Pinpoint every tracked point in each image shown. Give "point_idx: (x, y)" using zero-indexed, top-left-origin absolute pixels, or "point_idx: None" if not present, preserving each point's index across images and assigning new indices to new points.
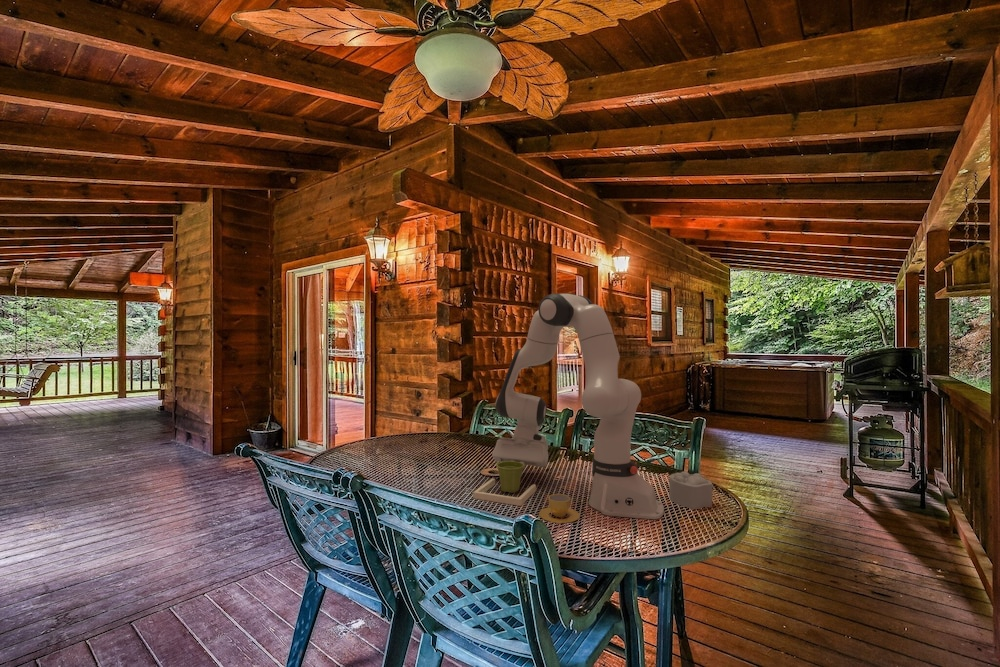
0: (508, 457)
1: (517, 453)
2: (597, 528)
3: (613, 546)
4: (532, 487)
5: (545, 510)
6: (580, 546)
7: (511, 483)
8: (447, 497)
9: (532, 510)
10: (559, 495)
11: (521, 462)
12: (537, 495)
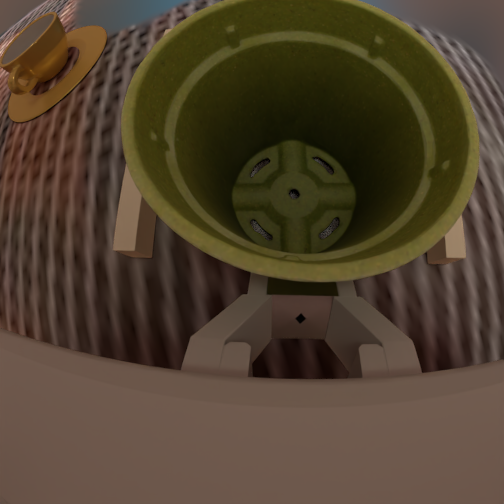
0: (473, 374)
1: (340, 498)
2: (3, 71)
3: (9, 40)
4: (125, 185)
5: (85, 60)
6: (52, 7)
7: (257, 107)
8: (473, 56)
9: (127, 45)
10: (18, 59)
11: (223, 362)
12: (114, 185)
